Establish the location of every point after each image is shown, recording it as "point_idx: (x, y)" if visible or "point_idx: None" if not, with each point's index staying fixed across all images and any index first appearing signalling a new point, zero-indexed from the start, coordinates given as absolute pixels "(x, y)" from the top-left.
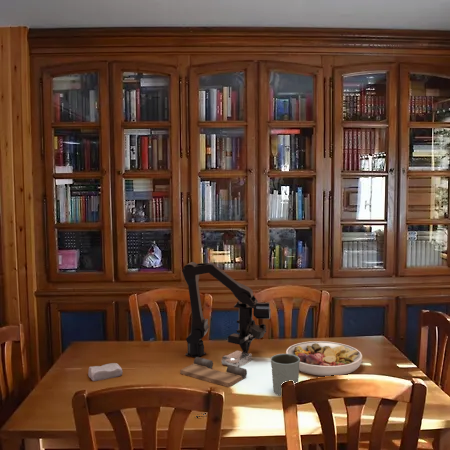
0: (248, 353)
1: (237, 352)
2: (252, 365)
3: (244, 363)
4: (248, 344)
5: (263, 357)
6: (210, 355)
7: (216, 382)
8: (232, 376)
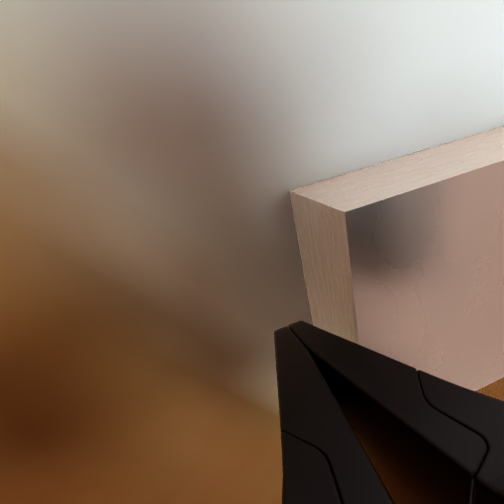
0: (369, 256)
1: None
2: (422, 22)
3: (452, 144)
4: (374, 470)
5: (34, 162)
6: None
7: None
8: None
